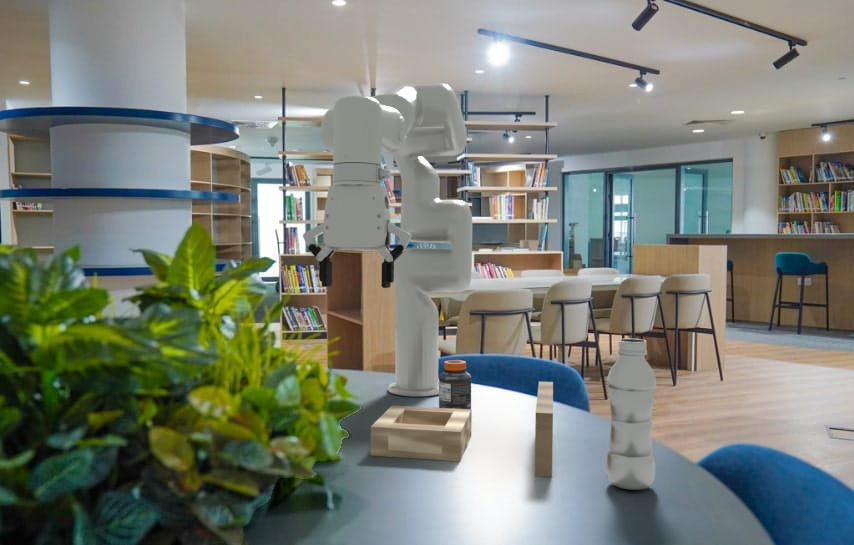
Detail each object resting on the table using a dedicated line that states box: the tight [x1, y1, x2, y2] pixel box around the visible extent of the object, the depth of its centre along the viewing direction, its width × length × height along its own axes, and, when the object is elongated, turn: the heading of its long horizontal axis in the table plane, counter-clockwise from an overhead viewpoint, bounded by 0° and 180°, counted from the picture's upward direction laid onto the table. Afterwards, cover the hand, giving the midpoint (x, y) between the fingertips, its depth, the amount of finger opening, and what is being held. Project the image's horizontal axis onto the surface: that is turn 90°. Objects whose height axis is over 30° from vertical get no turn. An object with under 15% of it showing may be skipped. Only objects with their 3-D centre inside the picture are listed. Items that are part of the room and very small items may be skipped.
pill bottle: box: [438, 359, 472, 409], centre depth 124 cm, size 6×6×11 cm
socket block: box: [370, 405, 473, 462], centre depth 110 cm, size 14×14×4 cm
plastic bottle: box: [605, 338, 657, 491], centre depth 92 cm, size 6×7×20 cm
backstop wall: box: [534, 381, 554, 477], centre depth 107 cm, size 22×2×9 cm, turn 169°
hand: (356, 286), depth 107 cm, fingers open, 9 cm apart
